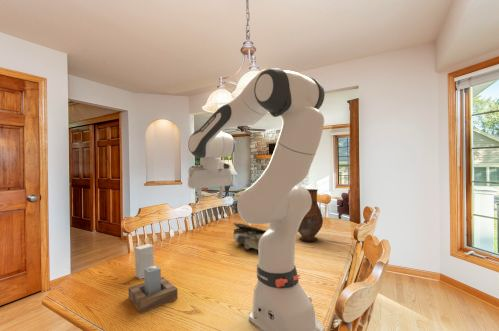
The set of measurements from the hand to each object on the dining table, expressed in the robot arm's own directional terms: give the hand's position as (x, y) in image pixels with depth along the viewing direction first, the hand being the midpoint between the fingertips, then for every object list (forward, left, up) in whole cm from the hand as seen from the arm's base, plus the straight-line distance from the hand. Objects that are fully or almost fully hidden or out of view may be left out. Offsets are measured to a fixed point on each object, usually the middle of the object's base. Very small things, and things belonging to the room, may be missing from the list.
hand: (210, 197), depth 106 cm
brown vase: (+12, -62, -31) cm, 71 cm away
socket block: (-12, +25, -31) cm, 42 cm away
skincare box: (+8, +26, -31) cm, 42 cm away
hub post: (-12, +25, -30) cm, 41 cm away
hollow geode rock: (+17, -29, -31) cm, 46 cm away
